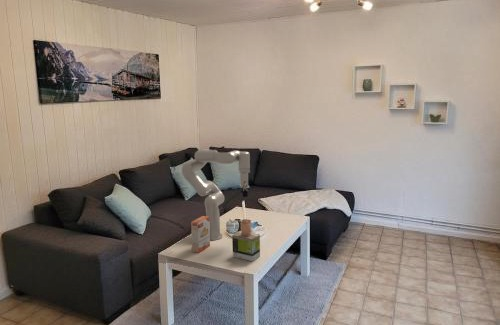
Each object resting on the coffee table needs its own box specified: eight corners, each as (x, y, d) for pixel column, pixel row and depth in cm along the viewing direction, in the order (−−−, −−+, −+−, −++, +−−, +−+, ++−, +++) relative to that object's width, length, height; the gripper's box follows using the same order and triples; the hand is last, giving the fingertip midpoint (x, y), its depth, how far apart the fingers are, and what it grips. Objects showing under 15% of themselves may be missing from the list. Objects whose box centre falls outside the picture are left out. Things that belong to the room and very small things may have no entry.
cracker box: (199, 253, 251) (198, 223, 247) (191, 252, 254) (190, 221, 250) (210, 245, 264) (209, 216, 260) (203, 244, 266) (202, 215, 262)
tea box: (260, 256, 247) (260, 234, 244) (252, 262, 238) (252, 239, 236) (240, 251, 255) (240, 229, 252) (232, 256, 246) (231, 234, 244)
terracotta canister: (241, 236, 240) (241, 222, 239) (240, 232, 246) (240, 219, 245) (251, 236, 241) (251, 222, 239) (250, 232, 247) (250, 219, 245)
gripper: (237, 167, 268) (238, 191, 271) (239, 172, 251) (239, 198, 254) (248, 167, 268) (248, 191, 272) (251, 172, 251) (251, 198, 255)
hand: (244, 194), depth 263 cm, fingers open, 9 cm apart
